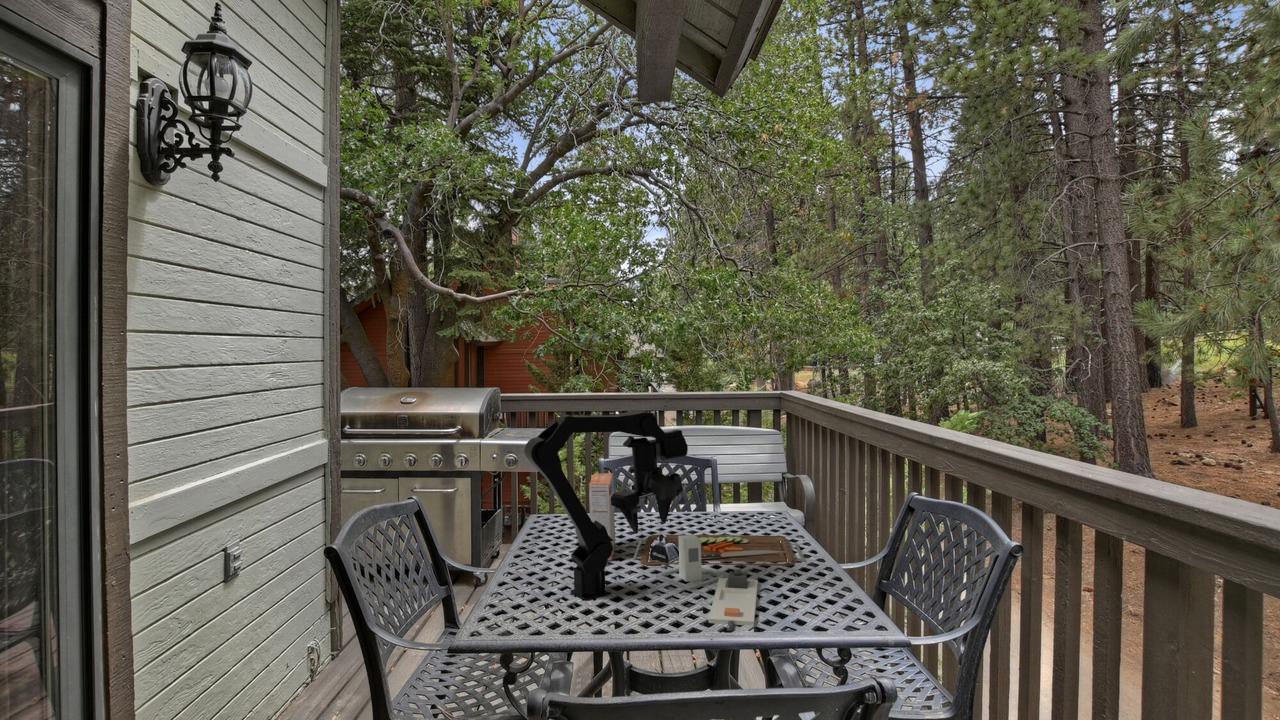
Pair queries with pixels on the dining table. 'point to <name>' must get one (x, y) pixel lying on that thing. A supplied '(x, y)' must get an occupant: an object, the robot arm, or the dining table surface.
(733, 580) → the black plug
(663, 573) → the tray
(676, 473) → the robot arm
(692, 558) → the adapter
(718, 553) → the chopping board
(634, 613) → the dining table surface
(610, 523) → the cracker box
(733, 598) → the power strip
